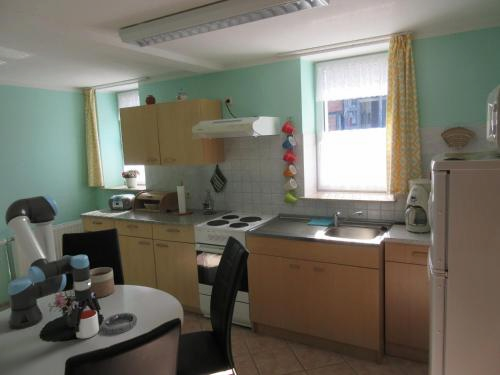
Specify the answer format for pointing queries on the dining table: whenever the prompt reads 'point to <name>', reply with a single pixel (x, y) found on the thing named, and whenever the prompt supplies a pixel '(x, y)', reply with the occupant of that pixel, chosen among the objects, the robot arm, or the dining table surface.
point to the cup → (89, 323)
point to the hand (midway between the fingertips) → (87, 331)
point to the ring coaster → (119, 323)
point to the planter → (102, 281)
